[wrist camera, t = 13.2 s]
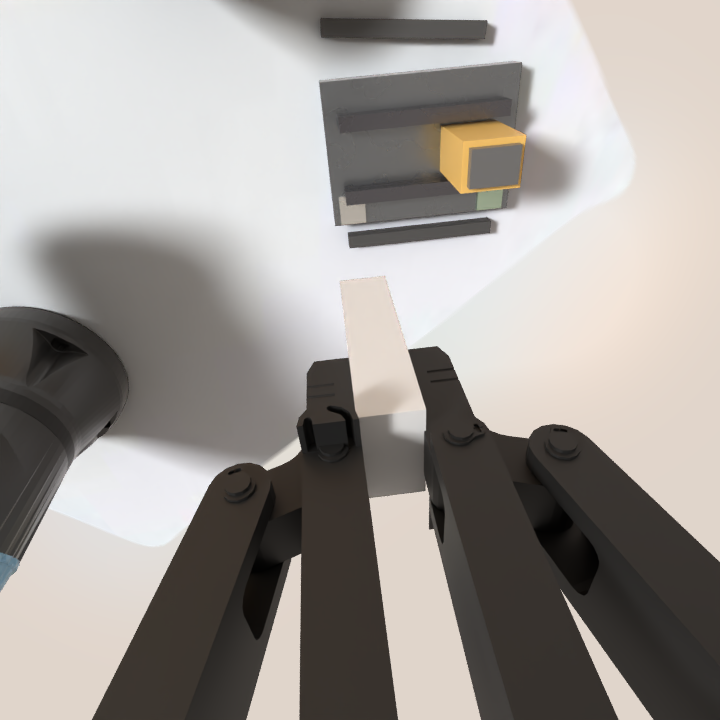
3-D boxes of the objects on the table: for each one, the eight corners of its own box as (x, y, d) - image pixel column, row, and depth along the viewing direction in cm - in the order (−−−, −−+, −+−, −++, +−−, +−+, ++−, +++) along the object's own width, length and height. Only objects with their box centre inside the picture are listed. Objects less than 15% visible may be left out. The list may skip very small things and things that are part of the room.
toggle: (439, 171, 35) (463, 196, 30) (440, 125, 34) (465, 143, 28) (491, 165, 36) (523, 190, 30) (494, 119, 34) (530, 136, 28)
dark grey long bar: (348, 243, 40) (349, 248, 39) (347, 232, 39) (348, 236, 38) (486, 228, 40) (489, 232, 39) (487, 217, 39) (490, 221, 39)
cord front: (321, 36, 31) (321, 37, 30) (320, 18, 30) (321, 18, 30) (480, 38, 32) (484, 38, 31) (482, 20, 31) (487, 20, 31)
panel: (334, 219, 38) (336, 232, 36) (319, 80, 33) (319, 84, 30) (499, 201, 39) (512, 213, 36) (514, 61, 33) (530, 63, 30)
